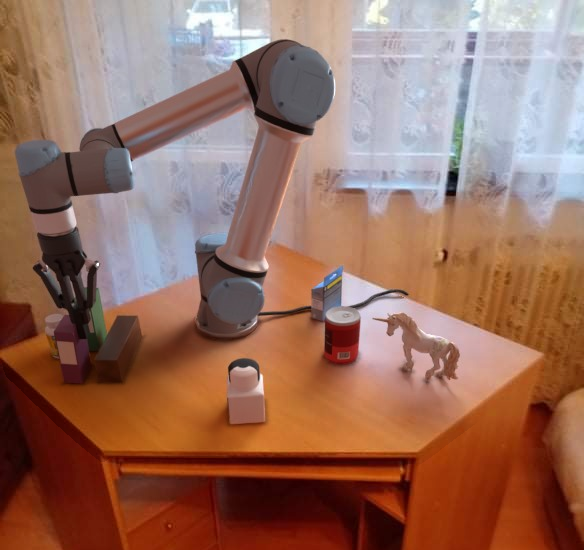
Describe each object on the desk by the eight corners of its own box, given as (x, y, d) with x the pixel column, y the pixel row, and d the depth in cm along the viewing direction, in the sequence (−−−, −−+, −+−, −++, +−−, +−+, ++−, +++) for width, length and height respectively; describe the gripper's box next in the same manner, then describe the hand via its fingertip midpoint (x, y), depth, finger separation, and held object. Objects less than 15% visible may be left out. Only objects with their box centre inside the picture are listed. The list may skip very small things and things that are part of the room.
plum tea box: (91, 365, 135) (83, 315, 127) (82, 383, 129) (72, 333, 121) (74, 364, 135) (64, 314, 127) (63, 382, 129) (53, 331, 121)
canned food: (364, 355, 137) (367, 313, 130) (343, 369, 132) (345, 327, 126) (339, 343, 141) (341, 302, 135) (317, 356, 137) (317, 315, 130)
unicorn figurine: (376, 353, 137) (380, 302, 129) (461, 370, 132) (471, 318, 124) (367, 370, 132) (372, 318, 124) (455, 389, 126) (466, 335, 118)
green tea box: (107, 335, 145) (99, 287, 137) (99, 351, 140) (89, 302, 132) (91, 334, 145) (81, 286, 137) (82, 350, 140) (71, 301, 132)
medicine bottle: (229, 403, 123) (224, 355, 116) (263, 400, 124) (261, 353, 116) (229, 425, 118) (224, 376, 110) (265, 422, 118) (262, 373, 111)
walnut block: (142, 337, 145) (137, 315, 141) (122, 382, 129) (117, 360, 126) (121, 336, 145) (117, 315, 141) (99, 382, 130) (93, 360, 126)
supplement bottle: (72, 344, 142) (62, 309, 136) (79, 354, 138) (69, 319, 133) (49, 351, 140) (38, 316, 134) (56, 362, 136) (45, 326, 130)
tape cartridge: (329, 304, 157) (330, 260, 149) (341, 308, 155) (343, 264, 147) (310, 318, 151) (310, 273, 144) (323, 322, 149) (324, 277, 142)
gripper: (96, 221, 114) (119, 326, 129) (30, 221, 115) (60, 326, 129) (85, 237, 108) (110, 345, 123) (15, 237, 109) (48, 345, 123)
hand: (84, 335), depth 126 cm, fingers closed
